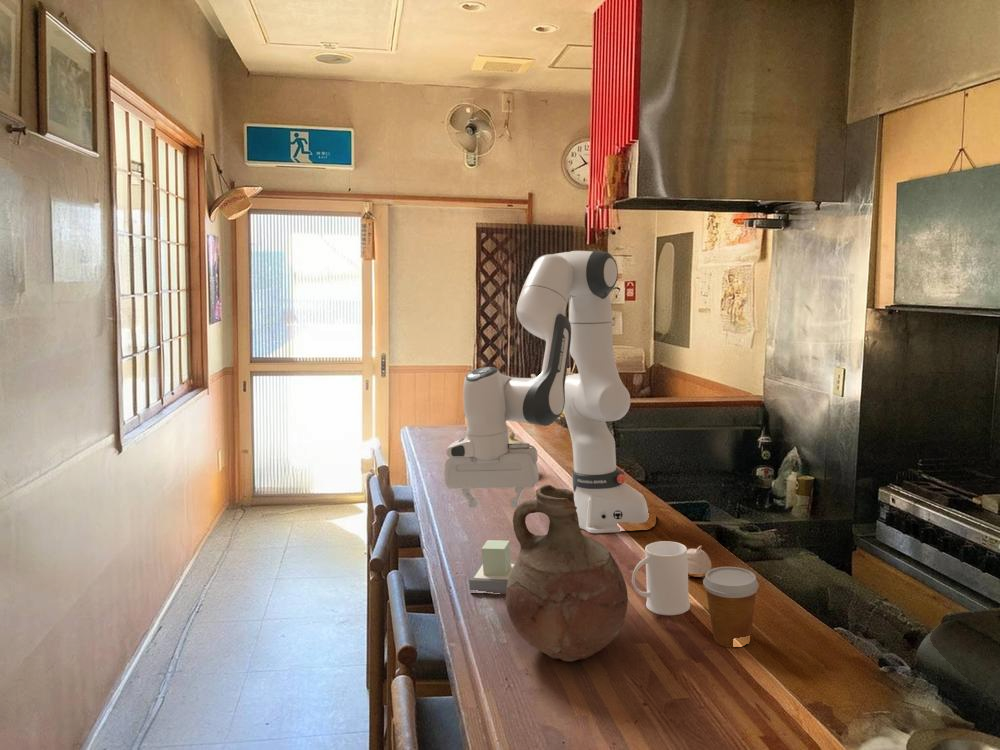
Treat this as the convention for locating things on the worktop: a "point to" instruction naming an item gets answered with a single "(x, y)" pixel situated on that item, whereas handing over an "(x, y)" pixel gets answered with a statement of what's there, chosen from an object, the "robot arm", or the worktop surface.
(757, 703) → the worktop surface
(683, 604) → the mug
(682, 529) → the worktop surface
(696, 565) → the garlic bulb
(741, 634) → the disposable coffee cup
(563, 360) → the robot arm
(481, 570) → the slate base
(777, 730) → the worktop surface
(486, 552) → the green block
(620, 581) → the jug
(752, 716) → the worktop surface
